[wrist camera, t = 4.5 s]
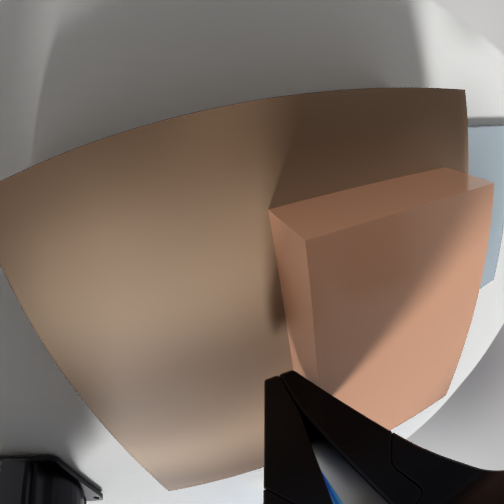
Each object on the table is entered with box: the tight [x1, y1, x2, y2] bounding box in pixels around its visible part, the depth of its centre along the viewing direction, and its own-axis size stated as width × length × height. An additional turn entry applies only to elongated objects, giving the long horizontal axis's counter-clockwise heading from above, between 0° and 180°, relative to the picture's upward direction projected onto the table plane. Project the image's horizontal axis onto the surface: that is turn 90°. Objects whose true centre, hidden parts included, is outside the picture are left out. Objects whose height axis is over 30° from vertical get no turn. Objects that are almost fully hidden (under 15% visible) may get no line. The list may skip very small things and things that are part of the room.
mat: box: [468, 125, 504, 288], centre depth 15 cm, size 11×10×1 cm
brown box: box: [0, 88, 469, 491], centre depth 11 cm, size 14×14×4 cm
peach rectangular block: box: [268, 167, 494, 430], centre depth 9 cm, size 9×6×2 cm, turn 10°
